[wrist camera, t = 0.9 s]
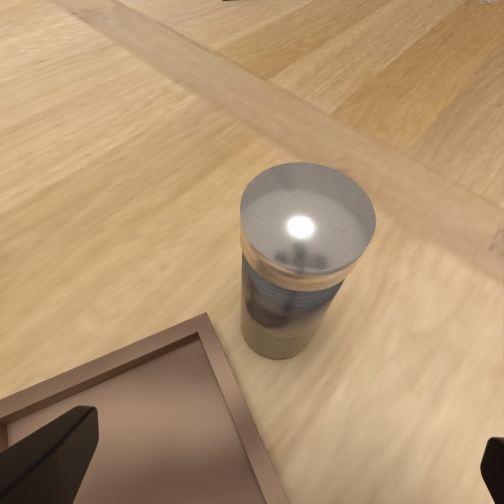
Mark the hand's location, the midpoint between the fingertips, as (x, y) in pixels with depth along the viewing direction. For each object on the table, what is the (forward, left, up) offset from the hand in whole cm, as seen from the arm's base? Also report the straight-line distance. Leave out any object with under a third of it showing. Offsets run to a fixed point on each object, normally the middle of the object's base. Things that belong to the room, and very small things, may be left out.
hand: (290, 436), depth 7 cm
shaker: (+7, -5, -14) cm, 16 cm away
